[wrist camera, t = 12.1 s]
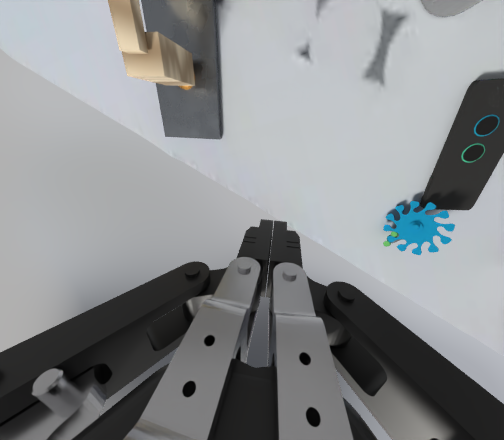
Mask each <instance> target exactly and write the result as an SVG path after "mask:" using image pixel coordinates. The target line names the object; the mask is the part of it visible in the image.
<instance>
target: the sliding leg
mask: <svg viewBox="0 0 504 440" xmlns="http://www.w3.org/2000/svg"><path fill="white" fill-rule="evenodd" d="M108 3H109V7H110V11H111V16H112V20H113V24H114V28H115V33H116V37H117V41H118V45H119V49H120V51H122V55H123V59H124V63H125V68H126V72H127V76H130V77H134V78H138V79H142V80H146V81H150V82H154V83H159V84H163V85H176V86H195V81H194V70H193V60H192V53H190V52H189V51H187V50H185V49H184V48H182V47H181V46H179V45H178V44H176V43H175V42H173V41H171V40H170V39H168V38H167V37H165V36H164V35H162V34H160V33H159V32H144V27H143V21H142V16H141V10H140V5H139V0H108Z"/></svg>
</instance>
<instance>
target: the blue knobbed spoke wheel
mask: <svg viewBox="0 0 504 440" xmlns="http://www.w3.org/2000/svg"><path fill="white" fill-rule="evenodd" d="M410 205H411V209H410V211H409V213H408V214H407V215H404V214H403V213H402V212H403V210H404V206H403V205H400V206H397V207H396V210H397V211H398V212H399V214H400V220H398V221H396V220H395V219H394V215H393V214H391V213H390V214H388V215H387V216H386V219H388V220H391V221H393V222H394V223H395V224H396V225H397V228H396V229H392V228H391V226H390V225H385V226H384V229H383V230H384V231H395V232H392V233H391V235H389V236H388V237H387V241H385V242H384V243H383V244H384V246H390V245H391V243H394V242H397V241H399V240H401V239H404V240H406V241H407V243H406V244H404V245H403V244H400V245H398V246H397V248H398V249H399V250H400V251H404V250H405V249H406V247H407V246H408V245H409V244H411V243H417V244H418V247H417V248H415V249H413V250H412V253H413V254H416V255H421V253H422V251H421V246H422V244H423V243H424V242H426V241H427V242H430V244H431V245H430V247H429V248H428V250H429V252H438V248H437V247H436V246H435V245H434V243H433V236H435V235H437V236H440V238H441V242H442V243H443V244H447V243H449V242H450V241H451V239H450V238H449V237H445V236H443V235H441V234H440V233H439V232H438V231H437V227H439V226H442V227H444V228H445V229H446V230H447V231H453V230H454V227H455V225H454V224H440V223H437V222H435V221H434V218H435V217H441V218H444V219H445V218H448V217H449V214H448V212H447V211H442V212H440V213H438V214H436V215H426V214H425V212H426V211H427V210H433V209H435V208H436V205H434V204H433V203H431V202H429V203H428V204H427V205H426V207H425V208H424V209H423V210H422V211H420V212H418V213H416V212H414V208H416V207H418V206H419V202H416V201H411V202H410Z"/></svg>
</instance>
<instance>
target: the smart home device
mask: <svg viewBox="0 0 504 440" xmlns="http://www.w3.org/2000/svg"><path fill="white" fill-rule="evenodd" d="M503 153H504V79H489V80H479V81H474V82H472V83H471V85H470V86H469V88H468V89H467V92H466V94H465V96H464V99H463V101H462V104H461V106H460V108H459V111H458V113H457V116H456V118H455V120H454V123H453V125H452V128H451V130H450V132H449V135H448V137H447V140H446V142H445V144H444V147H443V149H442V151H441V154H440V156H439V159H438V161H437V163H436V166H435V168H434V171H433V173H432V175H431V177H430V180H429V182H428V184H427V187H426V189H425V192H424V195H423V197H422V199H421V202H420V206H421V207H423V208H425V207H426V205H427V204H428V203H429V202H431V203H433V204H434V205H436V208H435V209H444V210H470V209H471V208H472V207H473V206H474V204H475V203H476V201H477V199H478V197H479V195H480V194H481V192H482V190H483V188H484V187H485V185H486V183H487V181H488V180H489V178H490V176H491V174H492V172H493V171H494V169H495V167H496V165H497V164H498V162H499V160H500V158H501V157H502V155H503Z"/></svg>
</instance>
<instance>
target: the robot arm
mask: <svg viewBox="0 0 504 440" xmlns="http://www.w3.org/2000/svg"><path fill="white" fill-rule="evenodd" d="M481 1H483V0H421V2H422V4H423V6H424V8H425V9H426V10H427V11H428V12H429V13H431V14H433V15H435V16H439V17H448V16H454V15H456V14H459V13H461V12H464V11H465V10H467V9H469V8H470V7H472V6H474V5H476V4H477V3H479V2H481ZM272 230H273V237H272ZM271 240H272V245H271ZM270 250H271V253H270ZM269 258H270V262H269ZM268 265H269V273H268ZM267 274H268V283H267ZM266 283H267V293H266V297H269V298H270V305H269V320H268V324H269V325H268V328H269V329H268V366H267V367H260V368H254V367H251V366H249V365H248V364H246V360H247V354H248V349H249V344H250V340H251V336H252V332H253V328H254V324H255V319H256V315H257V310H258V306H259V303H260V296H262V297H265V290H266ZM178 306H179V307H178ZM173 309H174V310H173ZM168 312H169V313H168ZM165 314H166V315H165ZM163 315H164V316H163ZM160 317H161V318H160ZM158 318H159V319H158ZM155 320H156V321H155ZM177 347H178V349H177V351H176V353H175V355H174V357H173V358H172V360H171V362H170V363H169V364H167V365H166V366H164V367H162V368H161V369H159V370H158V371H156V372H155V373H153V374H152V375H151V376H150V377H149V378H147V379H146V380H145V381H143V382H142V383H141V384H140V385H139V386H138V387H136V388H135V389H134V390H132V391H131V392H130V393H129V394H127V395H126V396H125V397H124V398H122V399H121V400H120V401H119V402H118V403H116V404H115V405H114V406H112V408H110V409H109V410H107V411H106V412H105V413H104V414H102V415H101V416H100V413H101V411H102V409H103V407H104V405H105V402H106V400H107V399H108V398H109V397H111V396H112V395H114V394H115V393H116V392H118V391H119V390H120V389H122V388H123V387H124V386H126V385H127V384H129V382H131V381H133V380H134V379H135V378H137V377H138V376H139V375H141V374H142V373H143V372H145V371H146V370H147V369H149V368H150V367H152V366H153V365H154V364H156V363H157V362H158V361H160V360H161V359H162V358H164V357H165V356H166V355H168V354H169V353H170V352H172V351H173V350H174V349H176V348H177ZM335 368H336V369H335ZM336 370H337V371H338V372H339V373H340V374H341V376H342V377H343V378H344V380H345V381H346V382H347V383H348V385H349V386H350V387H351V388H352V390H353V391H354V392H355V394H356V395H357V396H358V397H359V398H360V400H361V401H362V402H363V404H364V405H365V406H366V407H367V409H368V410H369V411H370V412H371V414H372V415H373V416H374V417H375V419H376V420H377V421H378V423H379V424H380V425H381V426H382V428H383V429H384V430H385V431H386V433H387V434H388V435H389V436H390V438H391V439H392V440H504V404H503V403H502V402H500V401H499V400H497V399H496V398H495V397H494V396H493V395H491V394H490V393H489V392H487V391H486V390H485V389H484V388H483V387H481V386H480V385H479V384H477V383H476V382H475V381H474V380H472V379H471V378H470V377H468V376H467V375H466V374H465V373H464V372H462V371H461V370H460V369H458V368H457V367H456V366H454V365H453V364H452V363H451V362H450V361H448V360H447V359H446V358H444V357H443V356H442V355H441V354H440V353H438V352H437V351H436V350H434V349H433V348H432V347H430V346H429V345H428V344H427V343H426V342H424V341H423V340H422V339H420V338H419V337H418V336H417V335H415V334H414V333H413V332H412V331H410V330H409V329H408V328H407V327H405V326H404V325H403V324H401V323H400V322H399V321H398V320H396V319H395V318H394V317H393V316H391V315H390V314H389V313H388V312H386V311H385V310H384V309H383V308H381V307H380V306H379V305H377V304H376V303H375V302H374V301H372V300H371V299H370V298H369V297H367V296H366V295H364V293H362V292H361V291H360V290H358V289H357V288H356V287H354V286H352V285H350V284H348V283H345V282H333V283H331V284H329V285H328V287H327V286H324V285H322V284H319V283H317V282H314V281H313V280H311V279H310V278H308V276H307V275H306V273H305V271H304V270H303V268H302V258H301V249H300V239H299V236H298V234H297V233H296V232H295V231H288V230H287V222H282V221H274V228H273V221H272V220H262V219H261V222H260V226H259V227H250V228H249V229H248V230H247V231H246V233H245V236H244V239H243V242H242V244H241V247H240V250H239V253H238V256H237V258H236V259H234V260H233V261H232V262H231V263H230V264H229V266H228V267H227V268H224V269H219V270H209V267H208V266H207V265H206V264H205V263H202V262H190V263H187V264H184V265H182V266H180V267H178V268H176V269H174V270H172V271H170V272H168V273H166V274H163V275H161V276H159V277H157V278H155V279H153V280H151V281H149V282H147V283H145V284H143V285H140V286H139V287H136V288H134V289H132V290H130V291H128V292H126V293H124V294H122V295H120V296H117V297H116V298H113V299H111V300H109V301H107V302H105V303H103V304H101V305H99V306H97V307H94V308H93V309H90V310H88V311H86V312H84V313H82V314H80V315H78V316H76V317H74V318H72V319H69V320H67V321H65V322H63V323H61V324H59V325H57V326H55V327H53V328H51V329H49V330H46V331H44V332H42V333H40V334H38V335H36V336H34V337H32V338H30V339H28V340H26V341H23V342H21V343H19V344H17V345H15V346H13V347H11V348H9V349H7V350H5V351H3V352H0V440H377V438H376V437H375V435H374V434H373V433H372V431H371V430H370V428H369V427H368V426H367V424H366V423H365V421H364V420H363V419H362V418H361V416H360V415H359V414H358V413H357V411H356V410H355V409H354V408H353V407H352V406H351V405H350V404H349V403H348V402H347V401H346V400H345V399H344V398H343V397H342V393H341V389H340V385H339V381H338V377H337V373H336Z"/></svg>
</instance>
